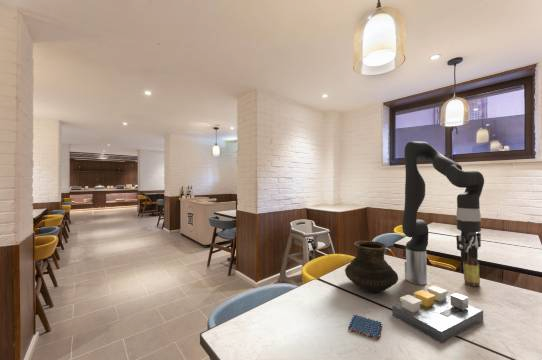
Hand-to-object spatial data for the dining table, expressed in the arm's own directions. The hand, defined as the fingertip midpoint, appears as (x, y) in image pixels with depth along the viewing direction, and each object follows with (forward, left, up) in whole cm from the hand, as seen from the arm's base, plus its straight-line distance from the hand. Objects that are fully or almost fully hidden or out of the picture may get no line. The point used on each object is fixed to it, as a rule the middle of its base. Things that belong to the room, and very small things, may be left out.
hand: (469, 259), depth 93 cm
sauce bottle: (-13, +32, -22) cm, 41 cm away
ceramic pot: (-33, -19, -22) cm, 44 cm away
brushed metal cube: (0, -8, -17) cm, 19 cm away
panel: (-4, -16, -22) cm, 27 cm away
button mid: (-9, -16, -20) cm, 27 cm away
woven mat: (-12, -46, -23) cm, 53 cm away
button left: (-9, -25, -20) cm, 33 cm away
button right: (-9, -7, -20) cm, 23 cm away
